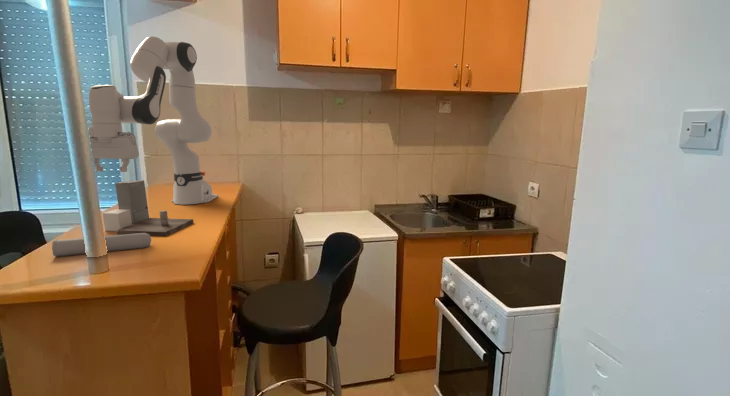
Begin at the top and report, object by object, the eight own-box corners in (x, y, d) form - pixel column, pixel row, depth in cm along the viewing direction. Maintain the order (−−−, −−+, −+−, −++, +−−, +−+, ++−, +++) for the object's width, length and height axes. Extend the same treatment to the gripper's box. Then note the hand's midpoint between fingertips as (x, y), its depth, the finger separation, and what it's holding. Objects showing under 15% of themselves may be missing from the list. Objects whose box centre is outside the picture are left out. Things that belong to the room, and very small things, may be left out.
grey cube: (117, 226, 147) (115, 209, 145) (132, 226, 146) (130, 209, 145) (105, 230, 141) (102, 213, 140) (120, 231, 140) (117, 213, 139)
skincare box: (134, 224, 150) (129, 183, 146) (118, 223, 151) (113, 182, 148) (150, 218, 158) (146, 179, 154) (135, 217, 159) (130, 179, 156)
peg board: (150, 221, 153) (148, 205, 152) (193, 223, 150) (191, 206, 149) (118, 234, 136) (115, 216, 135) (165, 236, 134) (163, 217, 133)
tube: (152, 231, 126) (59, 239, 118) (149, 231, 121) (51, 239, 113) (153, 248, 126) (59, 257, 117) (150, 248, 121) (52, 257, 112)
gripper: (141, 132, 139) (144, 171, 141) (89, 132, 142) (93, 170, 144) (128, 132, 133) (132, 172, 135) (74, 132, 135) (78, 172, 138)
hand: (111, 171), depth 139 cm, fingers open, 8 cm apart
